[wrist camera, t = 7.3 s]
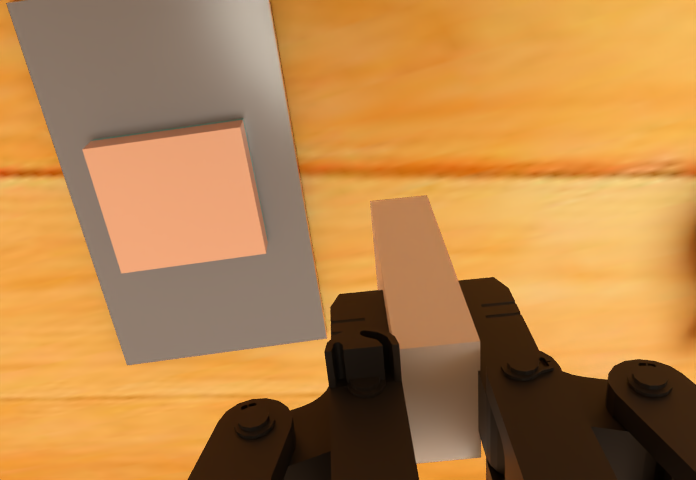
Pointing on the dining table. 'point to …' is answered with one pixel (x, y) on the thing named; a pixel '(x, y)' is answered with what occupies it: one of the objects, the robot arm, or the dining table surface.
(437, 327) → the robot arm
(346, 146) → the dining table surface
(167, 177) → the tile
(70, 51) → the slate board
